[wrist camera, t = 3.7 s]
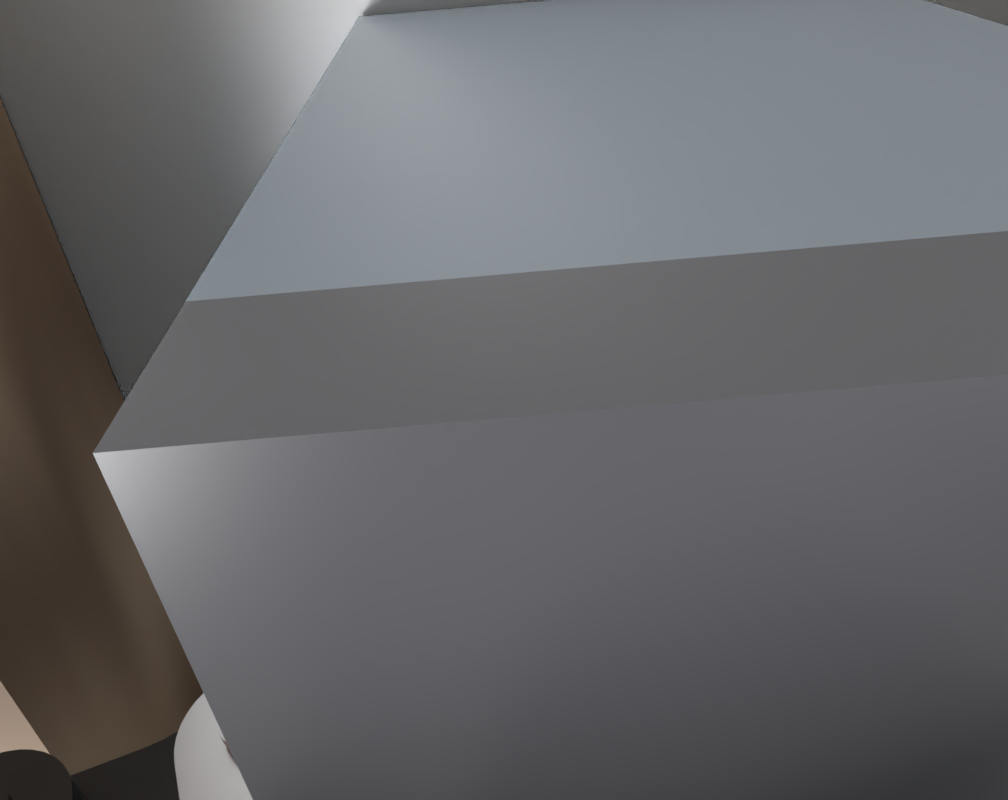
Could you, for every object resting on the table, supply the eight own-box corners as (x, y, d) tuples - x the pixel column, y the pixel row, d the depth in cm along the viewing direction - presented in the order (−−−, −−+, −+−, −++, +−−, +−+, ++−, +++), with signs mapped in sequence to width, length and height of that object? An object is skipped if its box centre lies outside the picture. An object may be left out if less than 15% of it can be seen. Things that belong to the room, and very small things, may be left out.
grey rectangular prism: (359, 16, 9) (92, 452, 2) (842, -26, 9) (1889, 298, 2) (453, 610, 15) (450, 1225, 8) (750, 584, 15) (990, 1179, 8)
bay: (-235, -86, 8) (-785, -44, 5) (1422, -222, 8) (2180, -285, 5) (173, 722, 16) (91, 972, 12) (1019, 650, 16) (1183, 881, 13)
